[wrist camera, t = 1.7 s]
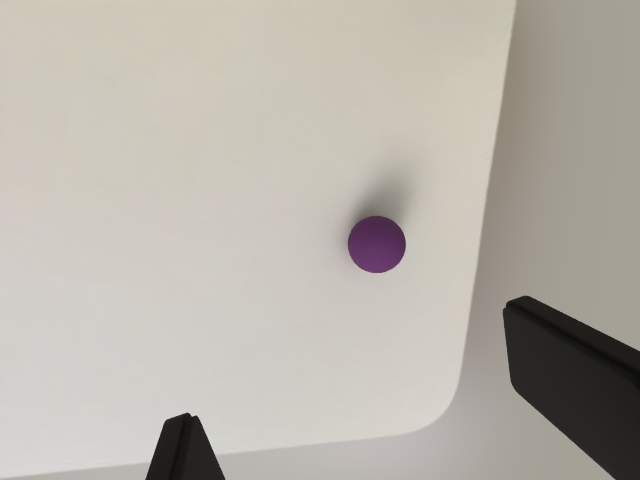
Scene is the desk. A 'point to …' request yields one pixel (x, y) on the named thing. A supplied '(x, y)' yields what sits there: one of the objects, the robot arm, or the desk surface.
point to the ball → (376, 244)
